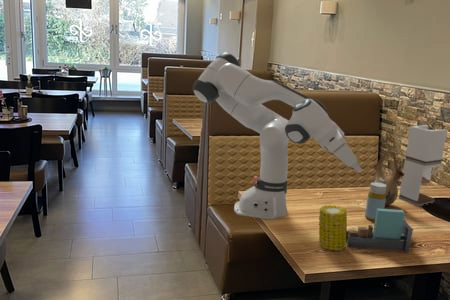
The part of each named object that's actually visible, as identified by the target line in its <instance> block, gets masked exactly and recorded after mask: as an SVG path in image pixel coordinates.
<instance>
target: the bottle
mask: <svg viewBox="0 0 450 300" xmlns="http://www.w3.org/2000/svg"><path fill="white" fill-rule="evenodd" d="M385 192H386V184H384V183H380V182H375V181H373V182H371V183H370V187H369V191H368V193H367V199H366V205H365V213H364V217H365V218H366V219H367V220H368V221H370V222H371V221H372V222H375V217H376V211H377V208H379V209H385V207H386V206H385V200H386V194H385Z"/></svg>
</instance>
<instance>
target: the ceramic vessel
mask: <svg viewBox="0 0 450 300" xmlns="http://www.w3.org/2000/svg"><path fill="white" fill-rule="evenodd" d="M388 155H392V159H393V172H392V175H391V177H387V176H386V175H385V174H384V172H383V165H384V162H385V159H386V157H387V156H388ZM372 167H373V169H374V172H375V180H374V182H380V183H384V184H386V192H385V194H386V200H385V207H388V206H390V205H392V204H394V203H395V202H396V200H397V199H398V196H399V191H398V190H399V187H398V181H399V180H400V179H402V177H403V176H404V173H403V171H401V170H400V169H399V167H398V161H397V156H396V154H395V153H394V152H393V151H392V150H388V151H385V153H384V154H383V156H382V157H381V159H379V161H377V162H376V163H375V164H373V165H372Z"/></svg>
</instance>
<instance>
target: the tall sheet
mask: <svg viewBox="0 0 450 300" xmlns="http://www.w3.org/2000/svg"><path fill="white" fill-rule="evenodd" d="M404 216H405V211H404V209H394V208H393V209H391V208H384V209H379V208H377V211H376V217H375V221H374V225H373V238H387V239H400V238H401V232H402V226H403V220H404Z"/></svg>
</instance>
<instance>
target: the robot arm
mask: <svg viewBox="0 0 450 300" xmlns="http://www.w3.org/2000/svg"><path fill="white" fill-rule="evenodd" d="M240 65H241V64H240V61H239V59H238V58H237V57H235V55H233V54H231V53H230V52H222V53H220V54H219V55H217V56H216V58H215V59H214V60H213V61H211V62H210V63H209V65H207V67H205V69H204V71H203V72H202V73H201V74H200V75H199V77H198V79H196V80H195V81H194V83H193V85H192V92H193V94H194V95H195V96H196V98H197V99H198V100H199V101H201V102H202V103H204V104H212V103H213V102H215V101H216V103H217V104H218V105H219V106H220V107H221V108H222V109H223V110H224V111H225V112H226V113H227V114H229V115H230V116H231V117H233V118H234V119H235V120H236V121H238V122H239V123H240V124H241V125H243V126H244V127H245V128H247V129H251V130H252V131H255V132H257V133H258V134H259V150H260V171H259V176H257V175H254V177H253V181H254V183H253V184H254V185H253V186H252V187H250V188H248V189H247V190H245V191H243V192H242V194H241V195H240V198H239V200H238V201H237V202H235V203H234V207H233V211H234V213H235V214H236V215H238V216H244V217H251V218H256V219H257V218H258V219H262V220H263V219H265V220H270V221H273V220H276V219H278V218H282V217H284V216H286V215H287V214H288V207H287V199H286V197H287V195H286V194H287V191H288V179H287V178H288V168H289V159H288V157H289V155H288V153H289V152H288V145H289V140H290V141H291V142H292V143H294V144H297V145H300V144H301V145H302V144H305V143H307V142H308V141H309V140H310V139H311V138H313V139H314V140H315V141H316V143H317V144H318V145H319V146H320V147H321V148H322V149H323V150H324V151H328V152H329V153H330V154H333V155H334V156H336V158H338V159H339V160H340V161H341V162H342V163H343V164H344V165H346V166H347V168H353V169H354V170H355V171H356V172H357V173H360V172H361V171H362V170H363V168H362V167H361V166H360V165H359V163H358V162H359V161H358V158H357V156H356V155H355V154H354V152H353V150H351V148H350V146H349V145H348V143H347V140H346V138H345V132H344V131H343V130H342V129H341V127H340V126H338V124H337V123H336V122H335V121H333V120H332V119H331V117H329V114H328V111H327V107H326V106H325V105H324V103H323V102H321V101H319V100H318V99H315V98H312V97H309V96H306V95H304V94H303V93H300V92H298V91H296V90H294V89H292V88H290V87H289V86H287V85H285V84H283V83H281V82H280V81H279V82H278V81H276V80H273V79H269V80H268V79H263V78H260V77H258V76H256V75H253V73H250V72H249V71H248V70H246V69H245V68H243V67H241V66H240ZM273 100H274V101H281V102H283V103H285V104H286V105H289V106H290V107H292V108H293V109H292V115H291V117H290V118H289V120H288V119H287V118H285V117H283V116H281V115H280V114H278V113H277V112H275V111H273V110H272V109H270V108H268V107H266V106H265V105H263V104H264V103H267V102H270V101H273Z"/></svg>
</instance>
